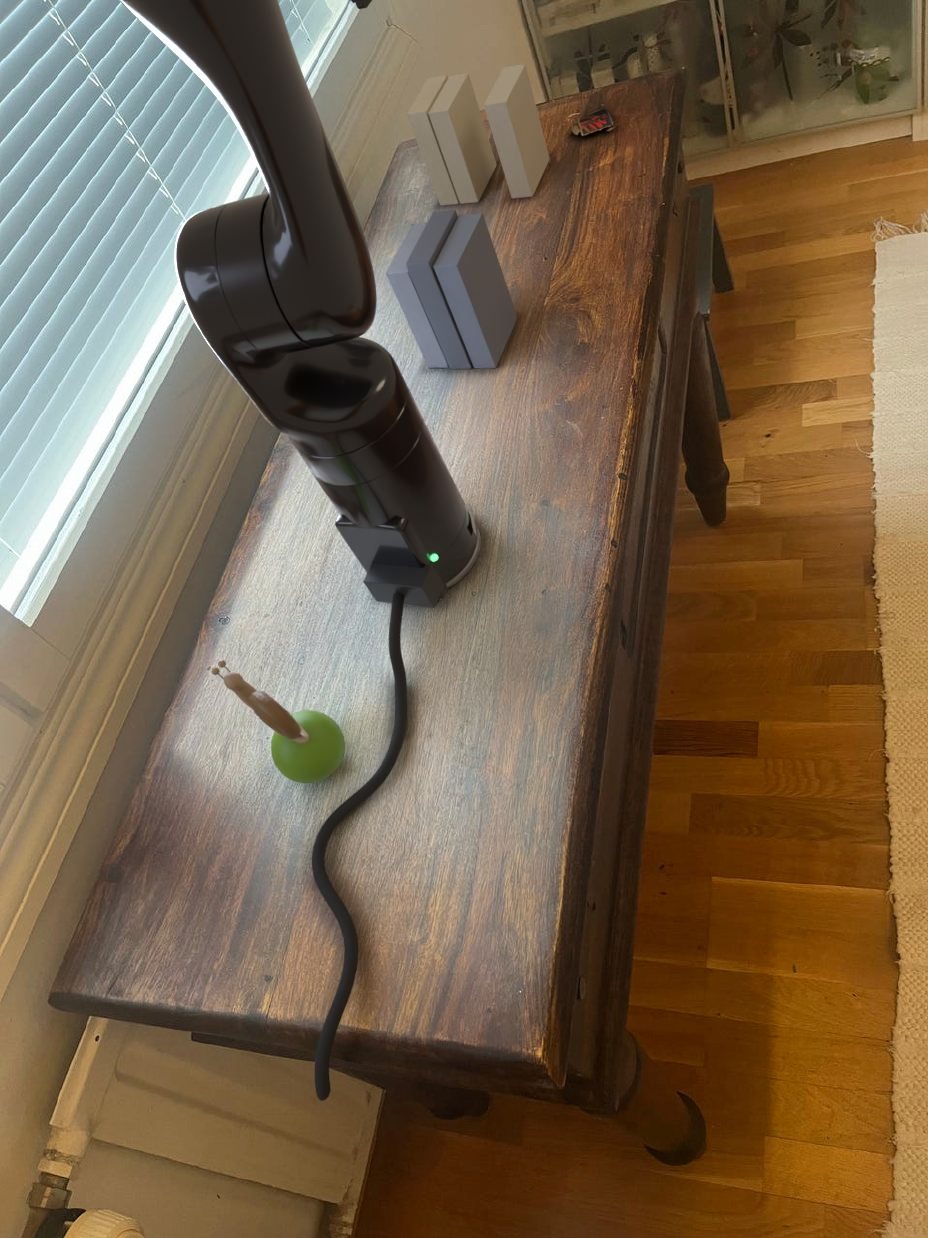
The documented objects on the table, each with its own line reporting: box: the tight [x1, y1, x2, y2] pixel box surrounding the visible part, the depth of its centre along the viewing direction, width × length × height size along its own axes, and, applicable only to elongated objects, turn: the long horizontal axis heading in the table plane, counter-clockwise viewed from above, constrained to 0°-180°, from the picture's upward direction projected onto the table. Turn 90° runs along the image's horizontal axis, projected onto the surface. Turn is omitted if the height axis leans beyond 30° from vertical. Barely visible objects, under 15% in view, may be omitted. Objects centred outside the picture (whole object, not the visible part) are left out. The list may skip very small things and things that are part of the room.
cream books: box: [406, 72, 497, 207], centre depth 106 cm, size 7×5×11 cm
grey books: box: [385, 209, 518, 370], centre depth 89 cm, size 7×8×12 cm
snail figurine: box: [211, 659, 346, 785], centre depth 67 cm, size 5×6×12 cm
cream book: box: [483, 63, 551, 199], centre depth 102 cm, size 7×3×11 cm, turn 160°
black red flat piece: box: [571, 107, 618, 137], centre depth 108 cm, size 5×5×1 cm
